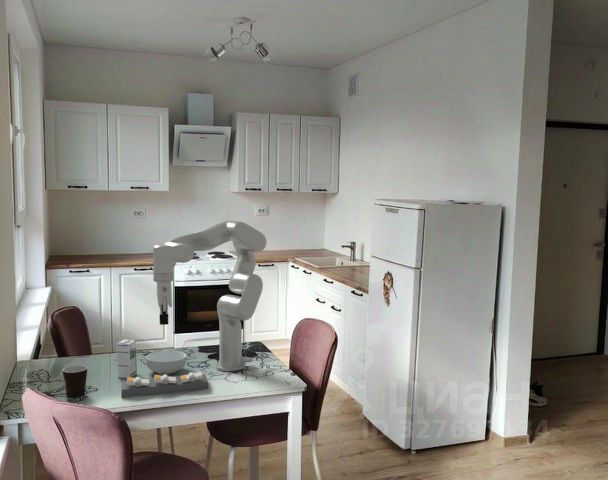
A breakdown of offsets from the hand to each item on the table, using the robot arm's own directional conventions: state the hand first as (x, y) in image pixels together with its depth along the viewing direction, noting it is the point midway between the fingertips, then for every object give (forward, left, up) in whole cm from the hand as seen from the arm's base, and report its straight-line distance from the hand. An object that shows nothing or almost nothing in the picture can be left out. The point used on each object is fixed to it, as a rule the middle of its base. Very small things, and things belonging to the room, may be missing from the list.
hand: (164, 324), depth 219 cm
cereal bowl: (-2, -19, -25) cm, 32 cm away
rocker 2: (-10, +4, -22) cm, 24 cm away
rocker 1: (+10, +4, -22) cm, 24 cm away
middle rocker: (0, +4, -22) cm, 22 cm away
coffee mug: (+32, -2, -25) cm, 41 cm away
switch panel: (0, +2, -25) cm, 25 cm away
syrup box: (+14, -18, -25) cm, 34 cm away
